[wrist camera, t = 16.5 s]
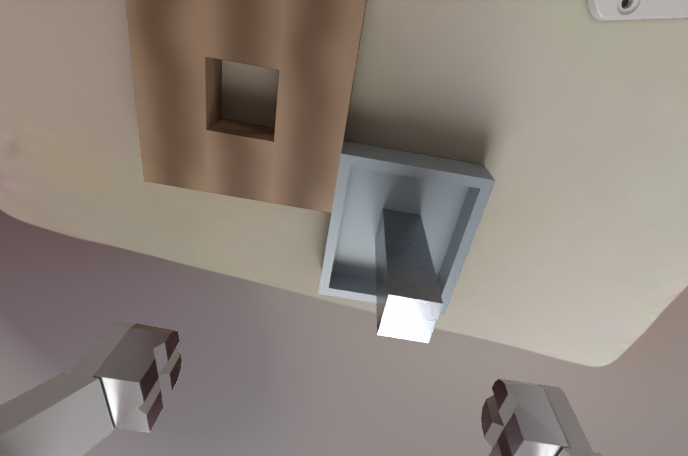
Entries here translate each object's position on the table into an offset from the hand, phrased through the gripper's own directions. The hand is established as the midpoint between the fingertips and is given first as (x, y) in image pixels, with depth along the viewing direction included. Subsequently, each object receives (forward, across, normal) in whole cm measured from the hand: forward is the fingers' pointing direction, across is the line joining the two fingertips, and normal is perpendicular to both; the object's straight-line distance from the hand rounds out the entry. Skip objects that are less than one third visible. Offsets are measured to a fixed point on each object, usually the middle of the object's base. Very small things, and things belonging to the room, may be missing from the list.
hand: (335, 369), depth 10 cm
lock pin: (+29, -5, +12) cm, 32 cm away
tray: (+30, -5, +12) cm, 33 cm away
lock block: (+30, +10, +1) cm, 32 cm away
